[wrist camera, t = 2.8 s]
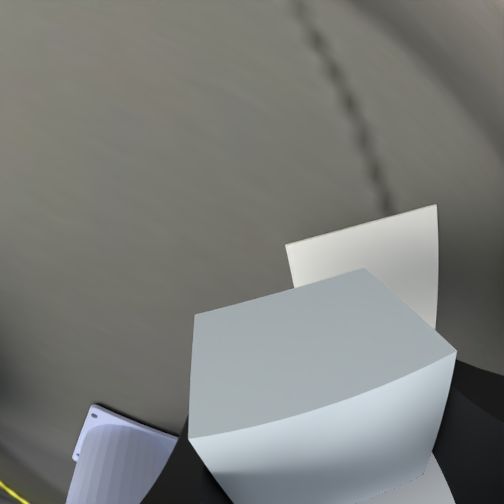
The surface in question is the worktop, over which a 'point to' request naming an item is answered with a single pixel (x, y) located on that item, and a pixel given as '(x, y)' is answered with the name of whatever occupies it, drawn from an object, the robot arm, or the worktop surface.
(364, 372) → the white box
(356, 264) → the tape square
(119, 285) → the worktop surface
